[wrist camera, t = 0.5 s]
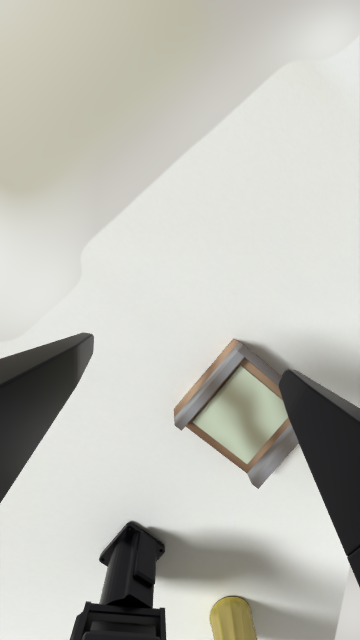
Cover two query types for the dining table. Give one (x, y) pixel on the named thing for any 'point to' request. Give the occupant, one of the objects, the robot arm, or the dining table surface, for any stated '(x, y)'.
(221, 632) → the vase
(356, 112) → the dining table surface
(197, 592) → the dining table surface
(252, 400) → the wooden tray
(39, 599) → the dining table surface
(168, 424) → the dining table surface
